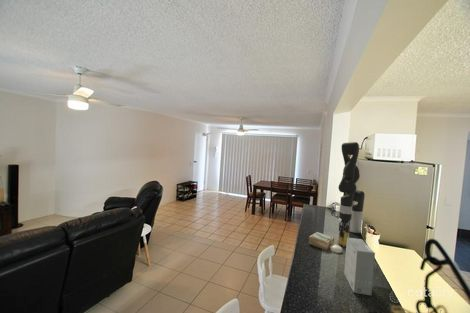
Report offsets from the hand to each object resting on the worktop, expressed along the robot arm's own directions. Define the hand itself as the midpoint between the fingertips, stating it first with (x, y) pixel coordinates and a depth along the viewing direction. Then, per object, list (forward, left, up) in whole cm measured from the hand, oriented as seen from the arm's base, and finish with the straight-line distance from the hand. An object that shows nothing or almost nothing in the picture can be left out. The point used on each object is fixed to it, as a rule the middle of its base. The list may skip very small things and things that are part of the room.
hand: (343, 235), depth 144 cm
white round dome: (+11, -1, -7) cm, 13 cm away
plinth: (+10, -11, -7) cm, 16 cm away
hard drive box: (+39, +19, -7) cm, 44 cm away
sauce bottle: (0, 0, -7) cm, 7 cm away
